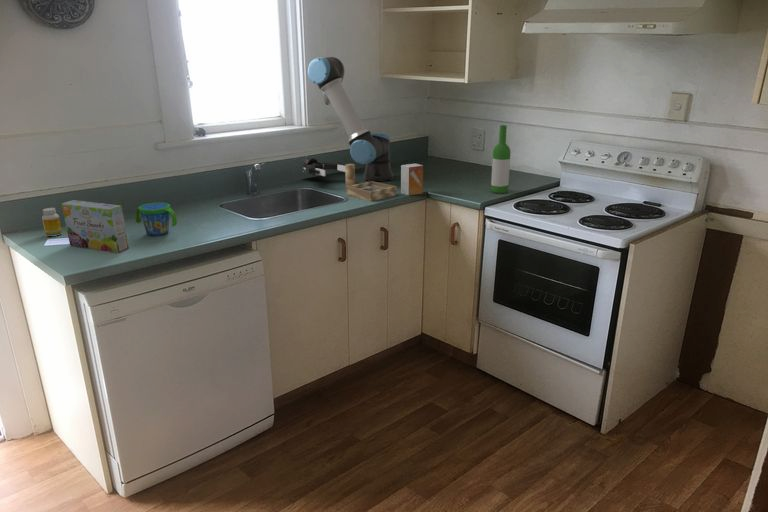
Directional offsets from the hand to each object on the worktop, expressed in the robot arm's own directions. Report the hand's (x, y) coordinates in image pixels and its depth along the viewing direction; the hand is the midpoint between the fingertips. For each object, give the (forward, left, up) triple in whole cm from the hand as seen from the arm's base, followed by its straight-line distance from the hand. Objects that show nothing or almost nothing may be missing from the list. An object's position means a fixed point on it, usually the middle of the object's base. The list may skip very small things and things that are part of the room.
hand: (336, 171), depth 280 cm
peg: (0, +10, -8) cm, 13 cm away
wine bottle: (-45, +62, -8) cm, 77 cm away
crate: (0, +24, -8) cm, 25 cm away
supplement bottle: (+121, -14, -8) cm, 122 cm away
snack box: (+115, +12, -8) cm, 116 cm away
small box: (-15, +35, -8) cm, 39 cm away
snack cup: (+94, +11, -8) cm, 95 cm away
